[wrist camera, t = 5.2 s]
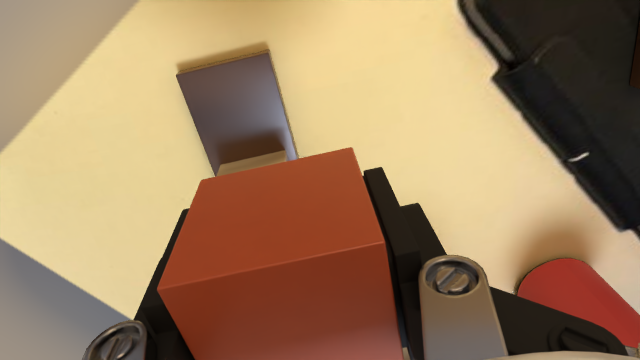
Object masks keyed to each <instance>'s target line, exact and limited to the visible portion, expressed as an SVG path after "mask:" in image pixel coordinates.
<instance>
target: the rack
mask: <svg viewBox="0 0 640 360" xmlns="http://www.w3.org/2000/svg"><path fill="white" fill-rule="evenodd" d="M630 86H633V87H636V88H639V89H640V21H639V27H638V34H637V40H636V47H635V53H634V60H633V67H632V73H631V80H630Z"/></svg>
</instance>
